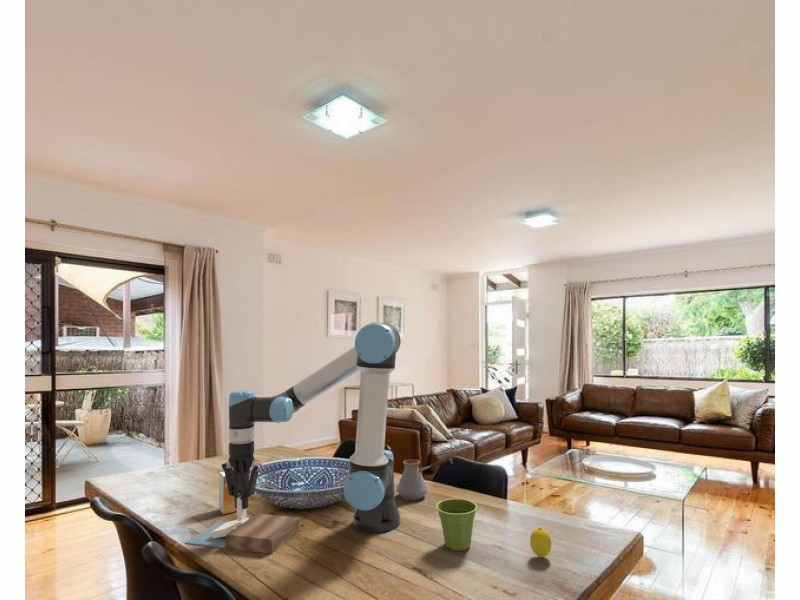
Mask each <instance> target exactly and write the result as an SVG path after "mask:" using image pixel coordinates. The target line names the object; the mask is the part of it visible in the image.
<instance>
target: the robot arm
mask: <svg viewBox="0 0 800 600" xmlns="http://www.w3.org/2000/svg"><path fill="white" fill-rule="evenodd" d="M400 346H401V335H400V333H399V330H397V329H396V327H395V326H393V325H392V324H389V323H386V322H379V321H377V322H376V321H375V322H370V323H368V324H366V325H364V326H362V327H361V329H359V331H358V332H357V333H356V336H355V340H354V346H353V347H352V348H350V349H348V350H347V351H346V352H344V353H342V354H341V355H339V356H338V357H336V358H335V359H333V360H331V361H330V362H328V363H327V364H325V365H324V366H322V367H321V368H319V369H318V370H316V371H314V372H313V373H311V374H310V375H308V376H307V377H305V378H303V379H302V380H301V381H299V382H297V383H296V384H295V385H293V386H291V387H289V388H288V389H287V390H285V391H283V392H282V393H278V394H276V395H273V396H269V397H267V396H266V397H265V396H264V397H261V396H260V397H258V396H256V395H255V392H254V391H253V390H249V389H245V390H244V389H242V390H234V391H232V392H231V393H230V394H229V397H228V406H227V407H228V441H229V443H228V455H229V456H228V461H226V462H224V463H222V464H221V468H222V470H223V472H225V477H226V482H227V487H228V492H229V495H230V496H231V495H232V496H234V498H235V508H237V511H236V520H237V521H242V520H243V519H245V518H247V508H249V498H250V497H251V496H253V495H254V494H255V491H256V488H257V487H256V486H257V481H258V477H259V472H260V470H261V469H262V466H263V465H262V464H261V463H257V462H256V461H255V457H254V454H255V441H254V439H255V423H277V424H279V423H287V422H289V421H290V420H291V418H292V417H293V414H295V413H296V412H298V411H299V410H300V409H301V408H303V407H305V406H306V405H307V404H309V403H311V402H312V401H314V400H315V399H317V398H318V397H320V396H322V395H323V394H325V393H326V392H328V391H330V390H331V389H333V388H334V387H336V386H337V385H339V384H341V383H342V382H343V381H345V380H347V379H349V378H350V377H352V376H353V375H354V374H356V373H357V372H359V371H360V382H359V383H360V384H359V392H358V393H359V394H358V395H359V396H358V397H359V398H358V409H357V422H356V437H355V449H354V450H355V451H354V453H352V455H350V456H349V463H348V471H347V477H346V479H345V481H344V483H343V495H344V497H345V500H346V501H347V503H348V504H350V506H351V507H353V508H354V509H355V511H354V514H353V517H352V519H353V520H352V521H353V522H352V523H353V524H352V526H353V527H354V528H355V529H356V530H358V531H361V532H366V533H384V532H389V531H392V530H393V529H396V528H397V527H398V526H399V525H400V524H401V516H400V515H401V514H400V511H399V509H398V505H397V502H396V499H395V482H394V481H395V478H394V477H395V474H394V472H395V471H394V462H395V460H394V454H393V452H392V450H386V449H385V442H386V428H387V412H388V399H389V398H388V397H389V386H390V385H389V383H390V374H391V373H392V372H393V371H395V369H396V361H397V360H396V359H397V353H398V351H399V349H400Z"/></svg>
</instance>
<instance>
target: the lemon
mask: <svg viewBox="0 0 800 600" xmlns="http://www.w3.org/2000/svg"><path fill="white" fill-rule="evenodd" d="M529 545H530V549H531V551H532V553H533V554H535V555H536V556H537V557H539V558H540V559H543V558H544V557H547V556H548V555H549V554H550V553H551V551H552V539H551V536H550V533H549V532H548V531H547V530H546V529H544V528H542V527H541V526H538V527H537V528H534V529H533V530H532V532H531V534H530V537H529Z"/></svg>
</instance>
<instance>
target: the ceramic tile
mask: <svg viewBox="0 0 800 600" xmlns="http://www.w3.org/2000/svg"><path fill="white" fill-rule="evenodd" d="M248 519H250V517H249V516H248V517H247V516H246V518H245V519H243V520H242V521H237V519H235V520H230V521H225V522H226V523H225V524H223V525H222V526H220V527H219V528H217V529H215V530H214V531H212V532H211V534H212V538H213V539H214V538H219V537H224V536H226V534H227V533H229V532H230V531H232V530H233V529H235V528H236V527H238V526H239V525H241V524H242V523H244V522H245V521H247V520H248Z"/></svg>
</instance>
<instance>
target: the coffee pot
mask: <svg viewBox="0 0 800 600" xmlns="http://www.w3.org/2000/svg"><path fill="white" fill-rule="evenodd" d="M447 462H450V463H451V464H453V463H454V462H453V459H452V458H451V457H448V458H444V459H443V460H439V461H437V462H434V463H432V464H430V465H428V466H424V467H421V468H420V466H419V465H420V464H421V461H420V460H419V459H405V460H403V462H402V463H403V465H404V469H403V471H402V474H401V477H400V479H399V482H398V485H397V486H396V491H397V494H398V495H399V496H400V497H401V498H402V499H403V500H406V501H417V500H422V498H423V497H424V496H425V495H426V494H427V492H428V486H427V484H426V482H425V478H424V476H423V475H422V472H423V471H426V470H428V469H431V468H433V467H434V468H435V467H437V466H439V465H442V464H444V463H447Z"/></svg>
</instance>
